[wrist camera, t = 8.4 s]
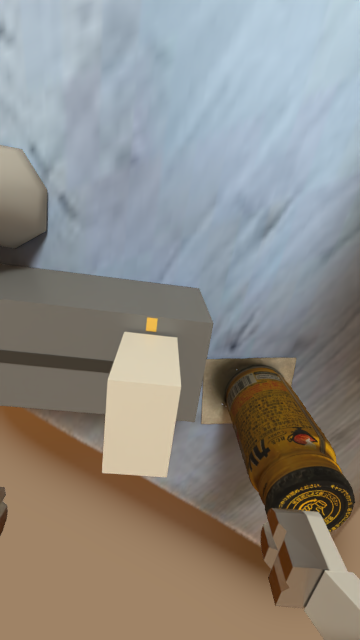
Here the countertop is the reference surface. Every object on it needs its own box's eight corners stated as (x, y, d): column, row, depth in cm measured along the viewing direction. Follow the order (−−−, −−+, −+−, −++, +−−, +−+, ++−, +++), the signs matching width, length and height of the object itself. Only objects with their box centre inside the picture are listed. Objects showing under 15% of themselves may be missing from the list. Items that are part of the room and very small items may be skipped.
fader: (118, 405, 18) (102, 472, 14) (124, 331, 17) (107, 379, 12) (166, 409, 19) (166, 477, 14) (177, 337, 17) (181, 386, 12)
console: (-21, 341, 25) (-101, 397, 18) (-30, 260, 23) (-126, 284, 15) (186, 362, 27) (194, 422, 19) (199, 288, 24) (213, 323, 17)
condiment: (284, 420, 30) (356, 549, 18) (201, 422, 29) (222, 554, 18) (295, 356, 27) (386, 459, 16) (204, 357, 27) (231, 463, 16)
